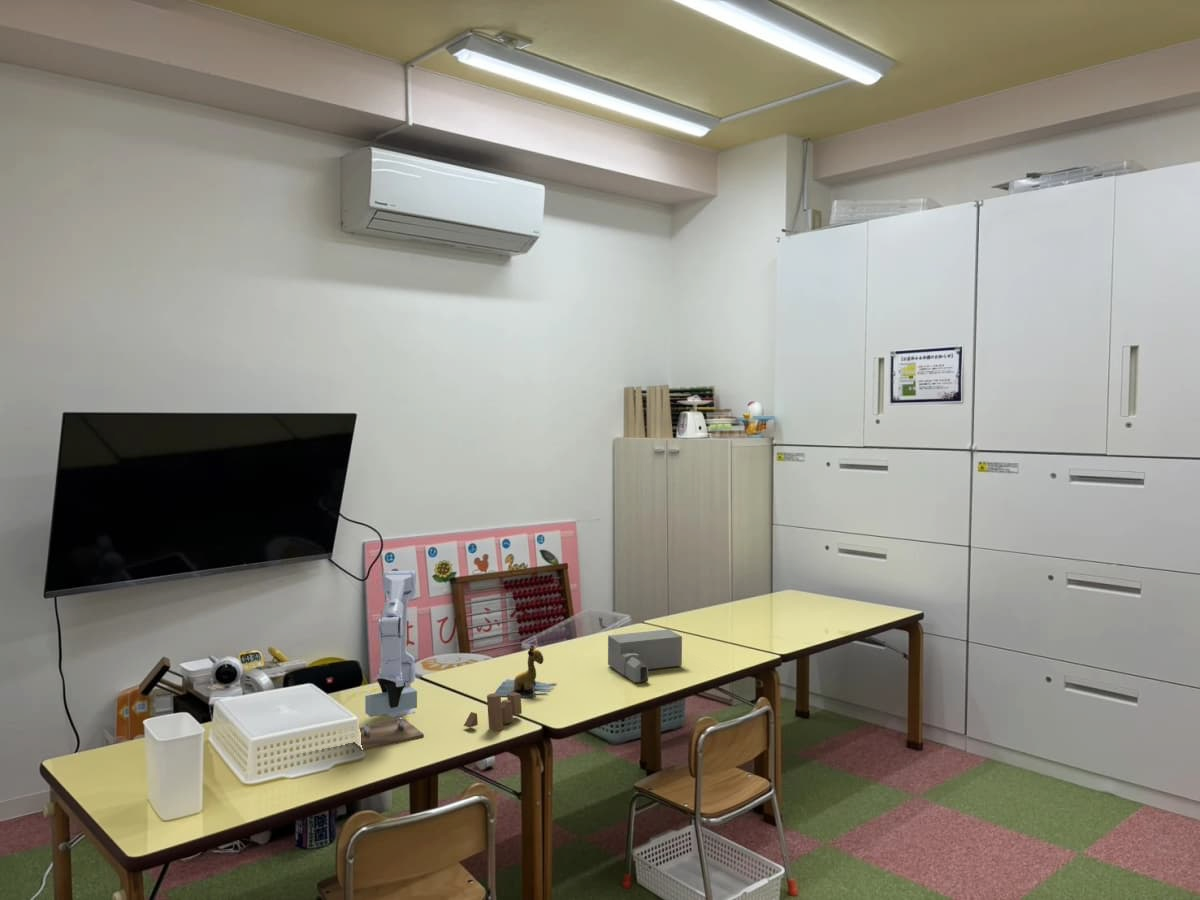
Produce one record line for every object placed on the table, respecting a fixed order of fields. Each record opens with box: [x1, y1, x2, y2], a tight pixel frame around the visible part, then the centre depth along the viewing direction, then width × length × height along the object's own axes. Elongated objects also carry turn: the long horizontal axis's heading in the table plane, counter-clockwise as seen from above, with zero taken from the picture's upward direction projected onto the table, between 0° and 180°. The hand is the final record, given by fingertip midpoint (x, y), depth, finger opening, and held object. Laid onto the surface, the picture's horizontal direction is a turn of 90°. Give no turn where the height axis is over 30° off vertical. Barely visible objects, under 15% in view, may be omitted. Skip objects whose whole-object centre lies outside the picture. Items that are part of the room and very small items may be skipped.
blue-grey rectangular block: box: [364, 687, 418, 718], centre depth 252 cm, size 14×4×5 cm, turn 124°
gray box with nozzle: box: [607, 628, 683, 684], centre depth 317 cm, size 25×23×11 cm
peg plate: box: [359, 716, 425, 751], centre depth 251 cm, size 15×18×4 cm
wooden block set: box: [463, 692, 523, 732], centre depth 259 cm, size 18×9×10 cm, turn 133°
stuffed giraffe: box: [494, 644, 558, 700], centre depth 292 cm, size 16×18×16 cm
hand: (391, 704), depth 252 cm, fingers closed on blue-grey rectangular block, 4 cm apart
